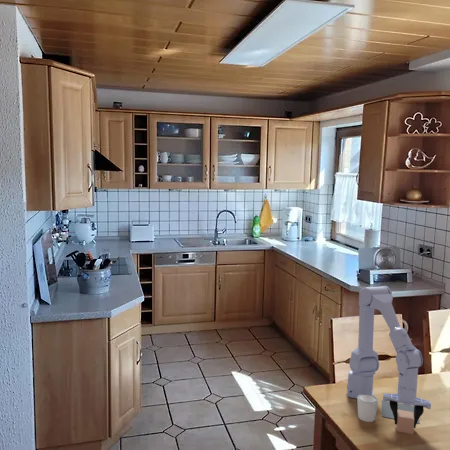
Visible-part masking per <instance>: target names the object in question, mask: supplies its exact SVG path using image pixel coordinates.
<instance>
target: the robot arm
mask: <svg viewBox="0 0 450 450" xmlns="http://www.w3.org/2000/svg"><path fill="white" fill-rule="evenodd" d="M393 299H394V296H393V294H392V291H391V289H390V287H388V286H387V285H381V286H365V287H362V288H361V289H360V290H359V294H358V306H359V314H358V316H359V317H358V342H357V347H356V348H355V349H354V350H353V351H351V355H350V359H349V362H348V363H349V368H350V370H349V369H348V375H347V376H348V377H347V384H346V390H347V393H346V395H347V397H348V398H353V399H357V396H358V395H360V394H369V395H372V396H374V394H375V393H374V392H375V391H374V389H373V388H374V376H375V375H376V372H377V371H378V370H379V369H380V361H379V355H378V353H377V351H376V350H374V329H375V327H374V326H375V325H374V324H375V310H377V311H379V312H380V313H381V316H382V318H383V319H384V321H385V323H386V325H387V326H388V328H389V334H388V337H389V340H390V341H391V342H392V346H393V347H394V350H395V352H396V355H395V361H396V362H395V363H396V365H397V368H396V369H397V371H398V380H397V381H398V382H397V393H386V392H385V393H382V401H388V402H390V407H391V410H392V412H393V415H394V419H393V420H394V425H397V411H398V403H400V404H404V405H405V406H414V429H416V427H417V425H418V424H417V422H418V419H419V420H420V418H421V416H422V415H423V414H424V410H425V409H424V408H426V409H427V410H431V409H432V403H431V400H427V399H423V398H419V397H417V390H418V388H417V387H418V376H419V375H418V374H419V368H420V367H422V366H423V362H424V358H423V355H422V352H421V351H420V349H417V347H416V346H415V345H413V343H412V341H411V339H410V337H409V334H408V332H407V330H406V329H405V328H403V327H401V325H400V322H399V320H398V317H397V315H396V311H395V309H394V306H393Z"/></svg>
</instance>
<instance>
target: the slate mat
mask: <svg viewBox="0 0 450 450" xmlns="http://www.w3.org/2000/svg"><path fill="white" fill-rule="evenodd" d="M398 410H403V411H409V412H413V415H414V405H411V406H405V405H404V404H402V403H398ZM381 417H382V418H385V419H391V420H394V415H393V412H392V410H391V407H390V401H383V400H381ZM418 424H419V425H420V418H419V419H418V422H417V424H416V425H418Z"/></svg>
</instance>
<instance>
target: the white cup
mask: <svg viewBox="0 0 450 450" xmlns="http://www.w3.org/2000/svg"><path fill="white" fill-rule="evenodd" d="M356 400H357V417H358V419H360V420H361V421H363V422H367V423H373V422H374V421H375V420H376V416H377V409H378V403H379V399H378V398H377V397H376V396H374V395H373V396H372V395H369V394H360V395H358V396H357V398H356Z"/></svg>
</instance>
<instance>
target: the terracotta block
mask: <svg viewBox="0 0 450 450" xmlns="http://www.w3.org/2000/svg"><path fill="white" fill-rule="evenodd" d="M395 425H396V424H395ZM414 429H415V428H414V415H413V412H409V411H403V410H398V411H397V425H396V432H397V433H398V432H400V433H405V434H409V435H414Z"/></svg>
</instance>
